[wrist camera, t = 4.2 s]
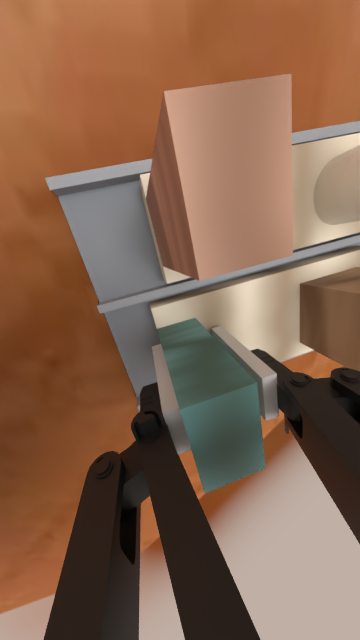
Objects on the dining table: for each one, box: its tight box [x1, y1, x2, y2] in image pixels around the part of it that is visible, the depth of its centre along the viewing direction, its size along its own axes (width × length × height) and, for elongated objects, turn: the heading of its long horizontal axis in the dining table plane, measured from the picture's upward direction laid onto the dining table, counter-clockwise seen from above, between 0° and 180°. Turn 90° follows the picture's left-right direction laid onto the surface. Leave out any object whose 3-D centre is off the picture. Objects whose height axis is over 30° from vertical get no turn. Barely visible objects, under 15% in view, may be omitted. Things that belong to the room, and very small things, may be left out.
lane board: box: [45, 121, 360, 411], centre depth 17 cm, size 26×18×2 cm
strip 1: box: [139, 74, 360, 284], centre depth 11 cm, size 20×6×10 cm, turn 103°
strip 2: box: [149, 245, 360, 493], centre depth 13 cm, size 20×8×10 cm, turn 103°
